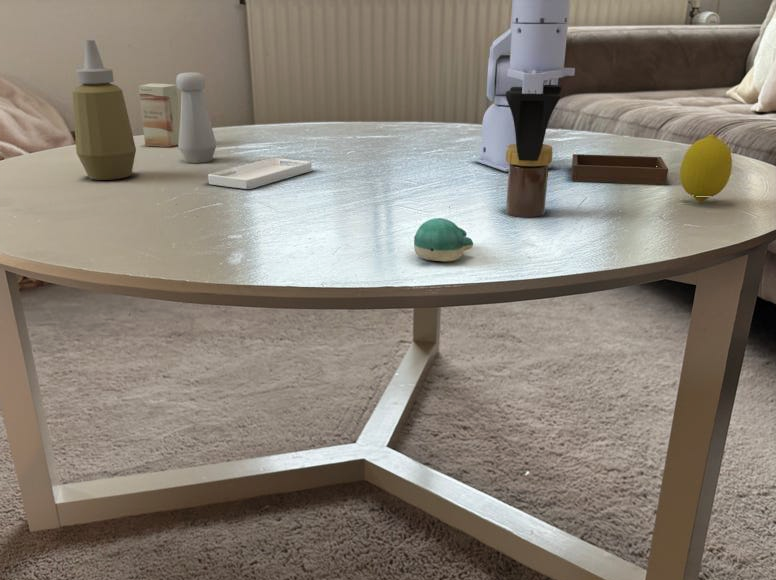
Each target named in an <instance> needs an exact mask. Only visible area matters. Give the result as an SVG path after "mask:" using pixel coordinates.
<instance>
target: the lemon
mask: <svg viewBox="0 0 776 580" xmlns="http://www.w3.org/2000/svg"><path fill="white" fill-rule="evenodd" d="M732 158H733V157H732V154H731V150H730V147H729V146H728V144H726V143H725V142H724V141H723V140H721V139H719V138H718V137H717V136H716V135H715V134H708V135H707V136H706V137H704V138H701V139H698V140H696V141H695V142H693V143H692V144H691V145H690V146H689V148H688V149H687V150H686V152H685V154H684V157H683V159H682V161H681V165H680V171H679V179H680V184H681V186H682V188H683V190H684V191H685V193H686V194H688V195H689V194H690V195H689V196H691V197H693V198H694V200H695V201H696V203H699V204H702V203H704V202H705V201H706V200H708V199H709V198H711V197H696V196H712V197H715V196H716V195H718V194H719V193H721V192H722V191H723V190H724V189H725V188H726V186H727V185H728V182H729V180H730V178H731V173H732V168H733V159H732ZM692 195H694V196H692ZM714 195H715V196H714Z"/></svg>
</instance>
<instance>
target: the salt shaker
mask: <svg viewBox="0 0 776 580" xmlns="http://www.w3.org/2000/svg"><path fill="white" fill-rule="evenodd" d="M205 77H206V76H204V75H203V74H202V73H200V72H195V71H193V72H192V71H191V72H189V71H188V72H181V73H178V74H177V76H176V87H177V90H180V91H181V96H180V98H181V99H180V115H179V121H180V130H179V143H178V145H177V146H178V150H179V152H180V153H181V155H182V157H183V159H184V160H185V162H186V163H190V164H191V163H192V164H201V163H209V162H211V161H212V160H213V158H214V154H215V152H216V148H217V141H216V138H215V133H214V130H213V126H212V123H211V118H210V114H209V111H208V107H207V104H206V100H205V97H204V93H203V90H204V89H205V88H206V78H205Z"/></svg>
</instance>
